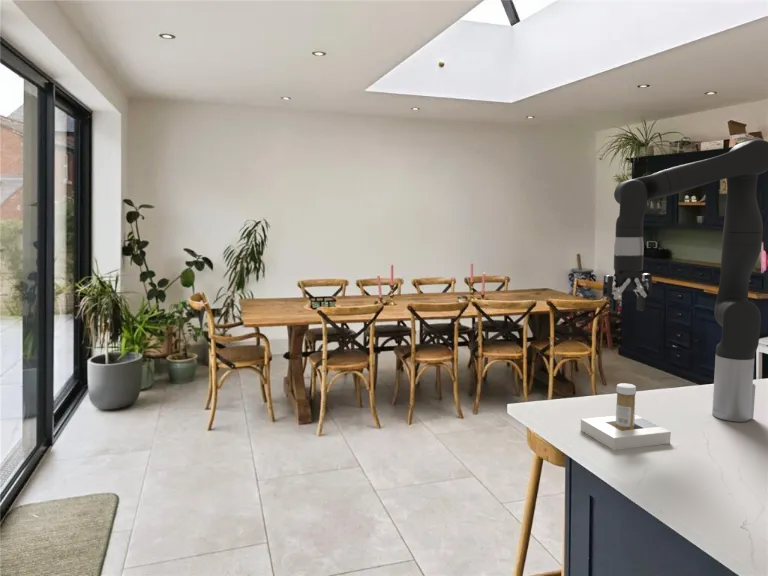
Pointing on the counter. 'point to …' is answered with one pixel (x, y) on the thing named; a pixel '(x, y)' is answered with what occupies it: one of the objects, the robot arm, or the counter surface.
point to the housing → (625, 433)
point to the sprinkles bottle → (625, 406)
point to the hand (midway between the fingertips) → (626, 311)
